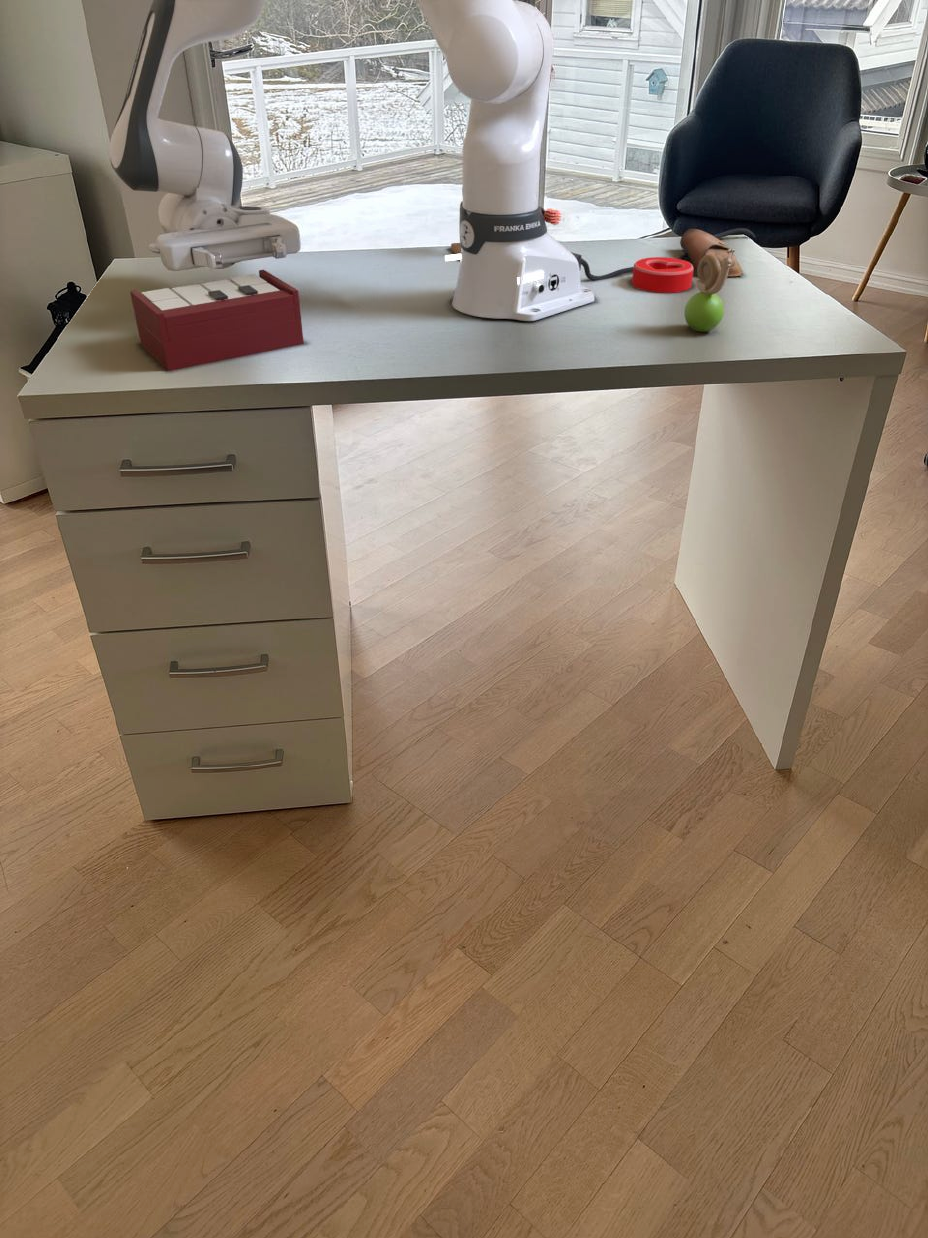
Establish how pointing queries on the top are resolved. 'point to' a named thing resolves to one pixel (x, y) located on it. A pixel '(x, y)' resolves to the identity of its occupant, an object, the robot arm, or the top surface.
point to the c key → (247, 280)
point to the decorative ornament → (662, 275)
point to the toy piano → (219, 321)
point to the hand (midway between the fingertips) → (249, 256)
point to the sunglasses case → (707, 249)
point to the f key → (159, 295)
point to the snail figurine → (708, 294)
